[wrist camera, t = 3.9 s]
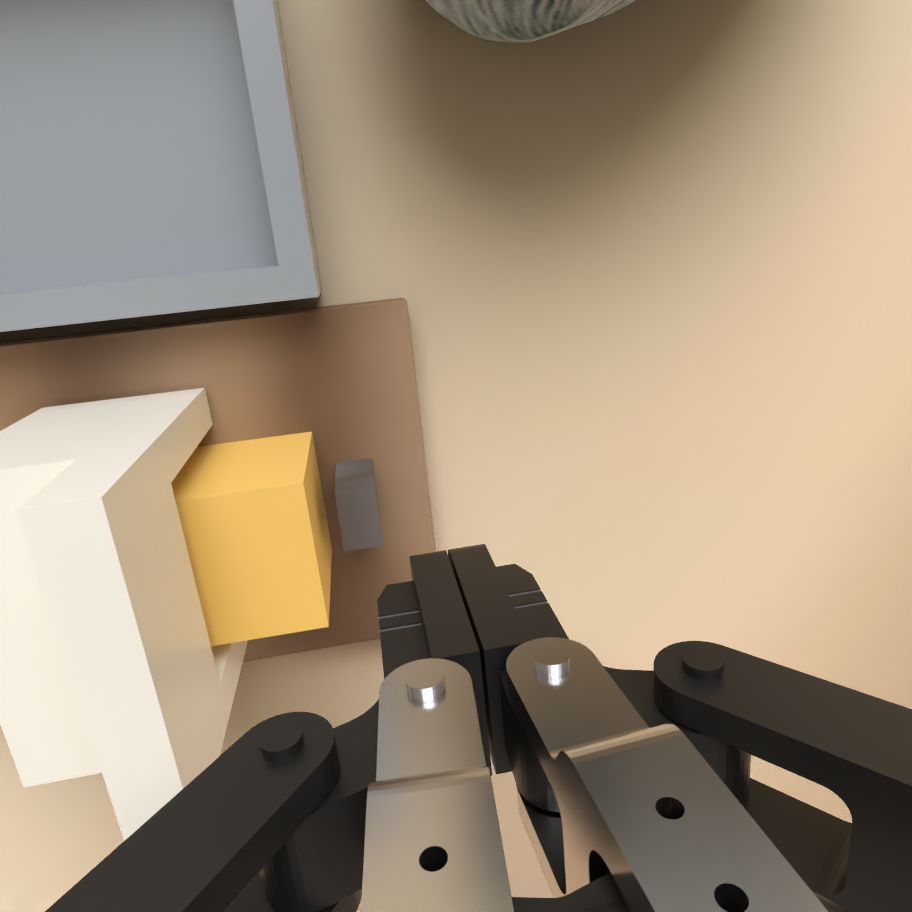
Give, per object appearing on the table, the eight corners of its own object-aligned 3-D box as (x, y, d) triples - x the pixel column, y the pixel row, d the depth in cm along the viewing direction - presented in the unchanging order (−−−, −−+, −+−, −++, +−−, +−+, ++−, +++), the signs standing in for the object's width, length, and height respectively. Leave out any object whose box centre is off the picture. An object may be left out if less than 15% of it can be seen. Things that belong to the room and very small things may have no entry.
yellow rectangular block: (311, 431, 19) (303, 483, 15) (331, 549, 20) (328, 627, 16) (-39, 477, 18) (-149, 546, 14) (4, 599, 19) (-87, 695, 15)
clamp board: (403, 297, 19) (415, 310, 16) (440, 610, 22) (456, 673, 19) (-317, 378, 17) (-473, 411, 14) (-164, 711, 20) (-260, 801, 17)
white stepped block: (204, 387, 18) (101, 497, 10) (254, 615, 20) (198, 844, 12) (43, 407, 17) (-193, 538, 10) (111, 638, 19) (-38, 891, 12)
